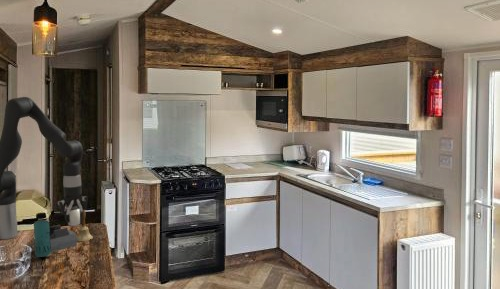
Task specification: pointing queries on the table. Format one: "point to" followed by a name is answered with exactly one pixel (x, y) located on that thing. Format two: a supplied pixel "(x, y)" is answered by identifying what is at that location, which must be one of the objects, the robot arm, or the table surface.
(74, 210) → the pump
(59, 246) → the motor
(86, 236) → the hand bell
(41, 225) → the beverage bottle
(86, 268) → the table surface
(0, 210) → the robot arm
